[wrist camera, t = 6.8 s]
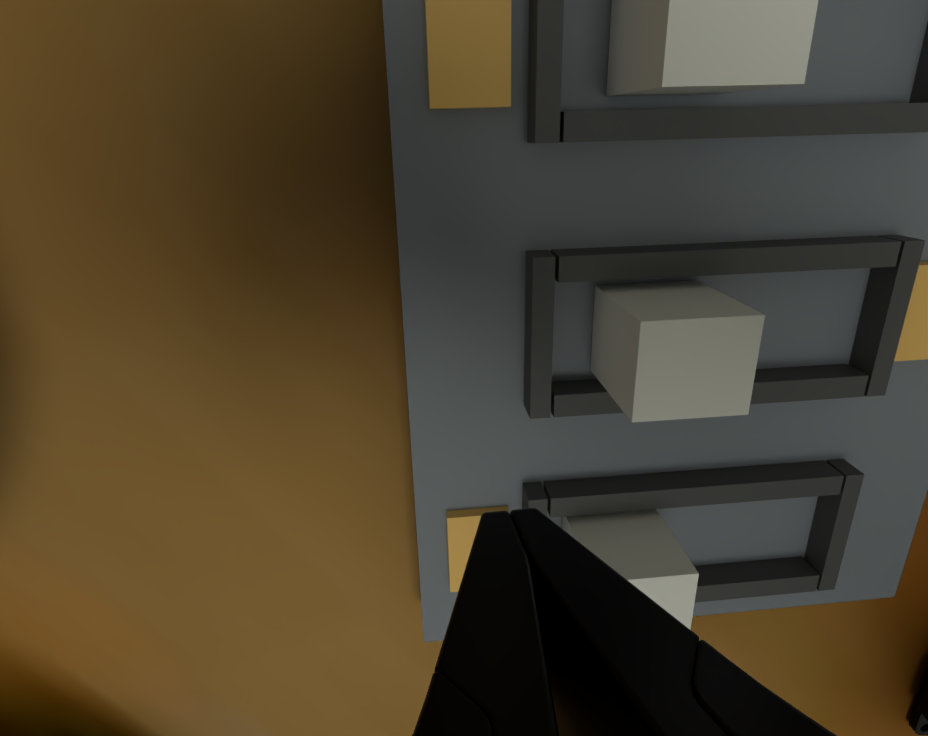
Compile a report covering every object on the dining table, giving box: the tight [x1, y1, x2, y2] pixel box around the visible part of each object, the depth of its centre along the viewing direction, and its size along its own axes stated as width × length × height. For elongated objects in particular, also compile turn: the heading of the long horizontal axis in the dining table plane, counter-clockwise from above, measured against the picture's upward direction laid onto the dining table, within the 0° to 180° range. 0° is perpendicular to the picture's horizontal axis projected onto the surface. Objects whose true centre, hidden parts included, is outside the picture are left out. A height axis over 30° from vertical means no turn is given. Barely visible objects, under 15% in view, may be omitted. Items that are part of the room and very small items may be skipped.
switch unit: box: [382, 0, 928, 642], centre depth 18 cm, size 18×23×3 cm
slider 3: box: [562, 509, 699, 629], centre depth 19 cm, size 3×3×4 cm
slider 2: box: [590, 280, 765, 423], centre depth 16 cm, size 3×3×4 cm
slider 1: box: [606, 0, 818, 96], centre depth 13 cm, size 3×3×4 cm
